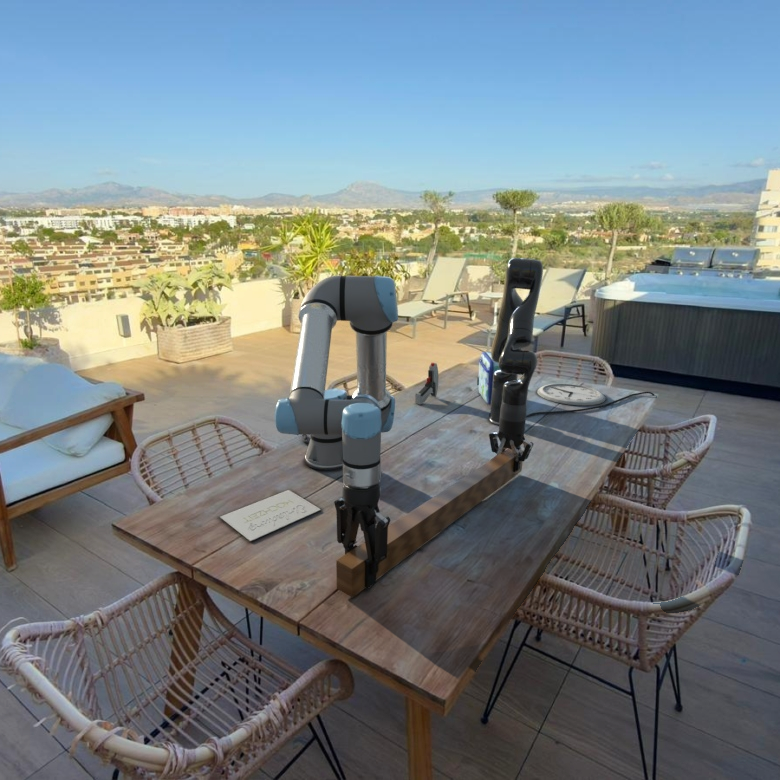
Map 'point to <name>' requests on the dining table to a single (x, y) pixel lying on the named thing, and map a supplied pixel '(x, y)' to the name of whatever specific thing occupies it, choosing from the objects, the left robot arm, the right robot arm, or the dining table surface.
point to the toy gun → (429, 385)
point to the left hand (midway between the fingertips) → (361, 579)
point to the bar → (427, 521)
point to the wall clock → (571, 394)
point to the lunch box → (486, 376)
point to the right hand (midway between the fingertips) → (508, 468)
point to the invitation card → (269, 514)
